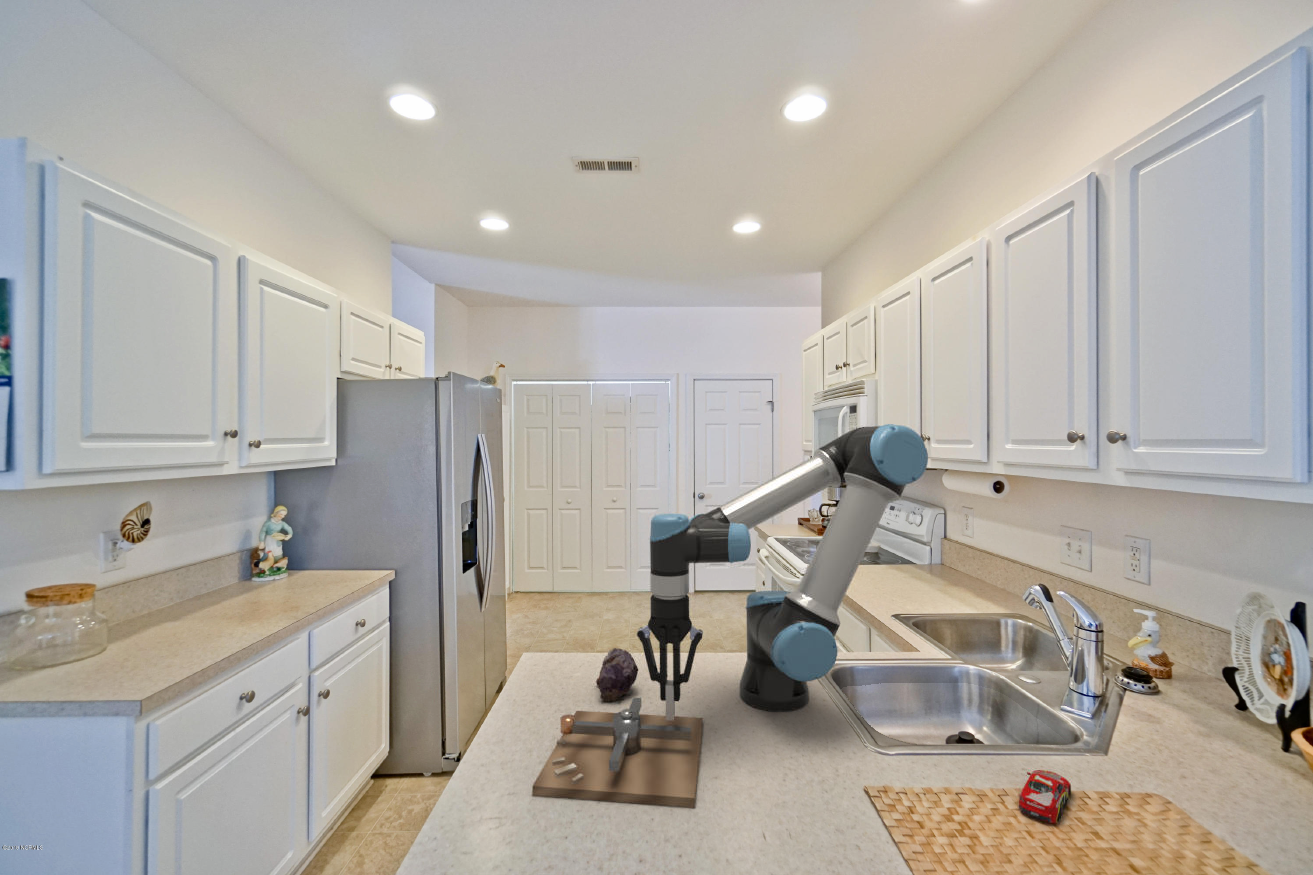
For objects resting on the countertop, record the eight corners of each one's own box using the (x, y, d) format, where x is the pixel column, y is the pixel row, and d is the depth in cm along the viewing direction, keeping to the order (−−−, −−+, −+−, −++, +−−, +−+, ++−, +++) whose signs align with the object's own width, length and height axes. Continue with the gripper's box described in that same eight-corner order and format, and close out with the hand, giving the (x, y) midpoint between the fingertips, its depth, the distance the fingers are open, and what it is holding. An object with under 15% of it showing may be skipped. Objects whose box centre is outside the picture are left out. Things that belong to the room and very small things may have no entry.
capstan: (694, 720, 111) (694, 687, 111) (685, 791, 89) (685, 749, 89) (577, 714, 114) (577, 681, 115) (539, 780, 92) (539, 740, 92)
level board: (703, 725, 113) (702, 714, 113) (694, 807, 87) (694, 793, 87) (576, 717, 116) (576, 707, 116) (532, 795, 90) (532, 781, 90)
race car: (1035, 778, 94) (1035, 754, 94) (1075, 792, 90) (1074, 767, 91) (1012, 813, 85) (1012, 787, 85) (1055, 831, 81) (1055, 803, 81)
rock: (593, 708, 123) (639, 706, 123) (591, 672, 122) (638, 670, 122) (597, 678, 134) (639, 676, 135) (595, 644, 133) (637, 643, 134)
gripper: (704, 590, 112) (705, 709, 112) (639, 588, 114) (640, 706, 114) (702, 600, 105) (703, 728, 104) (633, 598, 107) (633, 724, 106)
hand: (670, 716), depth 109 cm, fingers closed
